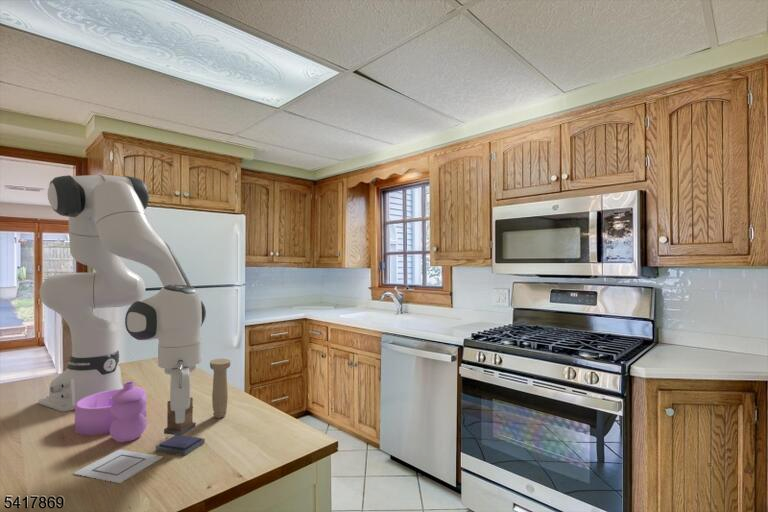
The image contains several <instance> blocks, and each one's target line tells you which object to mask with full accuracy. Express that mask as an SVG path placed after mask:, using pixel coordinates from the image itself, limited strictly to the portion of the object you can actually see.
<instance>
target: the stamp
mask: <svg viewBox="0 0 768 512" xmlns="http://www.w3.org/2000/svg"><path fill="white" fill-rule="evenodd" d="M193 398H194V397H191V396H190V407H189V408H188V409H185V421H184V422H183V423H178V424H177V423H176V422H175V411H171V408H170V400H168V401H167V405H166V406H167V410H166V411H167V416H166V417H167V418H166V419H167V420H166V421H167V425H166V426H167V427H165V428H164V429H163V434H164V435H173V436H175V435H179V436H182V435H185V434H187V433H188V432H190V431H192V430H194V429H196V425H197V424H196V422H193V419H194V418H193V407H194V406H193V405H194V404H193Z"/></svg>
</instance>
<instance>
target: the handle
mask: <svg viewBox="0 0 768 512" xmlns="http://www.w3.org/2000/svg"><path fill="white" fill-rule="evenodd" d="M209 367H210V369H211V370H213V378H212V392H211V393H212V395H211V398H212V399H211V401H212V402H211V403H212V411H213V414H212V415H213V418H215V419H221V418H224V417H226V415H227V409H228V399H229V397H228V396H229V395H228V392H229V391H228V376H227V375H228V374H227V371H228V370H227V369H228V368H229V369H230V367H231V360H230V359H228V358H215V359H211V360H210V361H209Z"/></svg>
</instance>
